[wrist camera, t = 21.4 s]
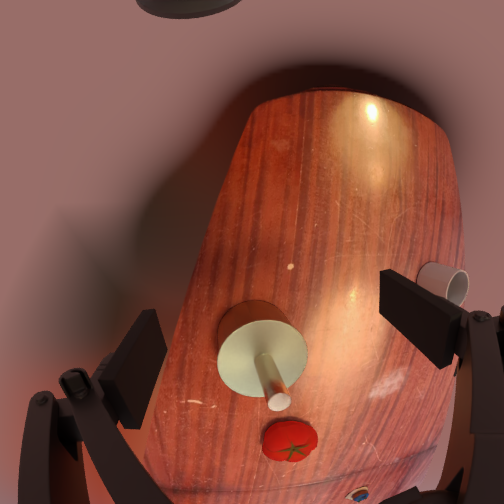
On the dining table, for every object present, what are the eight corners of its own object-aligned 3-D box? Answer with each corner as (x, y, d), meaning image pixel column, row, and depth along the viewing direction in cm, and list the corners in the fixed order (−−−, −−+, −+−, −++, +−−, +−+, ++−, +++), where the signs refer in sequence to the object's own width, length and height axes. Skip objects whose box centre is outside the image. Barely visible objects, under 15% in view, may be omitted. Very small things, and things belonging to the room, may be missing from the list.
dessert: (374, 485, 58) (372, 500, 54) (361, 487, 62) (359, 501, 58) (356, 486, 57) (354, 502, 53) (343, 488, 61) (341, 503, 57)
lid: (235, 304, 35) (245, 340, 25) (318, 329, 37) (352, 365, 27) (205, 381, 36) (206, 430, 26) (284, 398, 38) (304, 443, 28)
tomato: (297, 448, 50) (306, 468, 43) (252, 442, 48) (257, 464, 41) (319, 418, 49) (330, 438, 43) (272, 411, 47) (280, 433, 41)
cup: (442, 280, 49) (471, 290, 40) (413, 312, 49) (441, 327, 40) (432, 254, 48) (464, 261, 39) (401, 286, 47) (432, 299, 39)
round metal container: (231, 290, 42) (237, 309, 34) (298, 311, 45) (317, 332, 36) (208, 353, 43) (209, 382, 35) (272, 369, 45) (284, 398, 37)
